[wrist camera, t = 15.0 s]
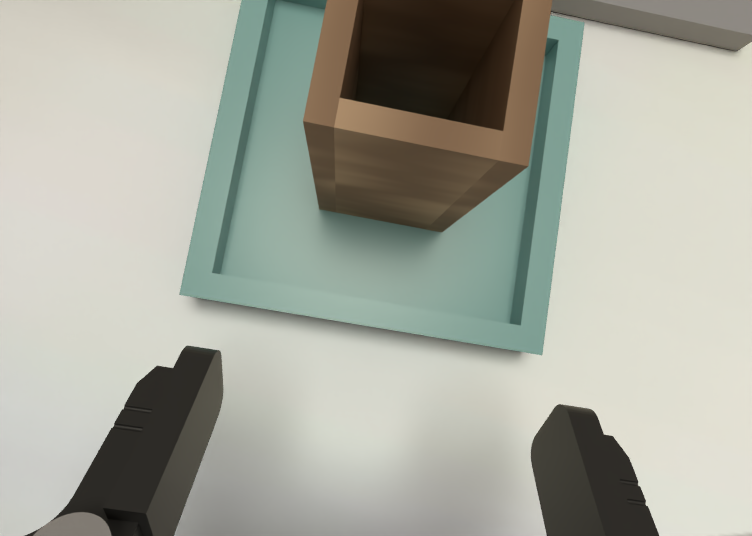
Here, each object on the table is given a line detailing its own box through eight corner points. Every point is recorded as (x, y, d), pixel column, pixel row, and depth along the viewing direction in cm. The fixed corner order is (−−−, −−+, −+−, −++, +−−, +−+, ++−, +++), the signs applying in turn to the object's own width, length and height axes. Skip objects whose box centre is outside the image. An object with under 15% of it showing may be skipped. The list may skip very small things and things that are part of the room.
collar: (319, 209, 19) (302, 120, 10) (345, 73, 20) (350, -121, 11) (442, 232, 20) (528, 166, 11) (463, 97, 20) (562, -71, 11)
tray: (195, 296, 19) (179, 294, 17) (260, -15, 21) (252, -49, 19) (522, 350, 20) (542, 355, 18) (561, 48, 22) (584, 22, 20)
